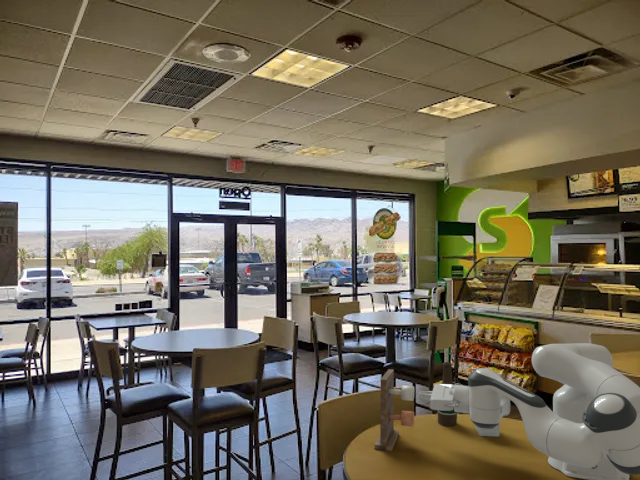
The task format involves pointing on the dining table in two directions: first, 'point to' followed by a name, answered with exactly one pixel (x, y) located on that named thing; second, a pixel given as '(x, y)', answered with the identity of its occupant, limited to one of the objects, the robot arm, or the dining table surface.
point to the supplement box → (488, 431)
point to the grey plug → (404, 392)
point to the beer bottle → (451, 416)
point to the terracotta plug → (404, 418)
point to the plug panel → (387, 414)
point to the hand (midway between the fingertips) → (418, 394)
